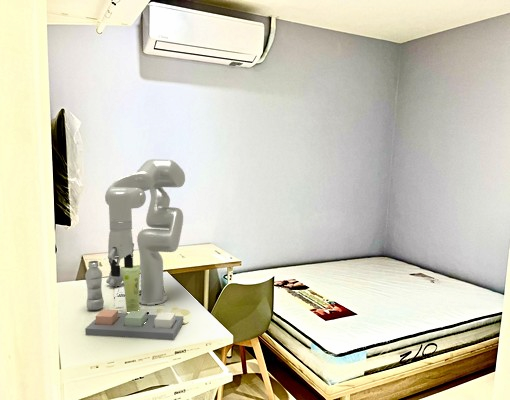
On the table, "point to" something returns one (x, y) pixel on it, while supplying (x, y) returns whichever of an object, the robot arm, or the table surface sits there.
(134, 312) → the sage button
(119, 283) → the chubby cartoon animal
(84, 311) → the table surface
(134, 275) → the tube
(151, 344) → the table surface
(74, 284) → the table surface
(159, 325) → the offwhite button
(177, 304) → the table surface
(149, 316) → the panel
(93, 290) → the plastic bottle
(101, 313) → the terracotta button
